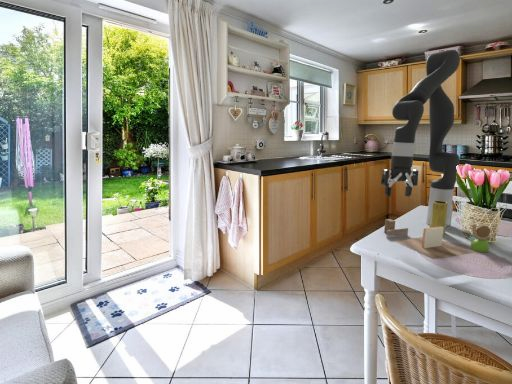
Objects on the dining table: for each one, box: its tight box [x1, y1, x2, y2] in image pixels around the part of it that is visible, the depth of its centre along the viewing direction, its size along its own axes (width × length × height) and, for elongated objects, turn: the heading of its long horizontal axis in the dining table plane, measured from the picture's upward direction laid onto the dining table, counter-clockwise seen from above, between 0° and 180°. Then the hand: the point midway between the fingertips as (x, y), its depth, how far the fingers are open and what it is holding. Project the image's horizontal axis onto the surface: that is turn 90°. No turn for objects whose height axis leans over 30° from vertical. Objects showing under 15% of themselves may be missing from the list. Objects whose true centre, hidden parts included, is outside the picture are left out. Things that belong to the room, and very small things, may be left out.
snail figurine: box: [470, 220, 491, 253], centre depth 111 cm, size 5×6×12 cm
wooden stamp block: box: [383, 218, 409, 239], centre depth 128 cm, size 6×10×7 cm, turn 109°
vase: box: [429, 201, 448, 235], centre depth 130 cm, size 6×6×14 cm
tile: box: [422, 226, 444, 248], centre depth 114 cm, size 8×1×7 cm, turn 109°
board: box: [394, 236, 474, 260], centre depth 115 cm, size 18×18×2 cm
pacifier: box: [468, 235, 477, 242], centre depth 122 cm, size 7×6×6 cm
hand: (397, 196), depth 124 cm, fingers open, 8 cm apart
